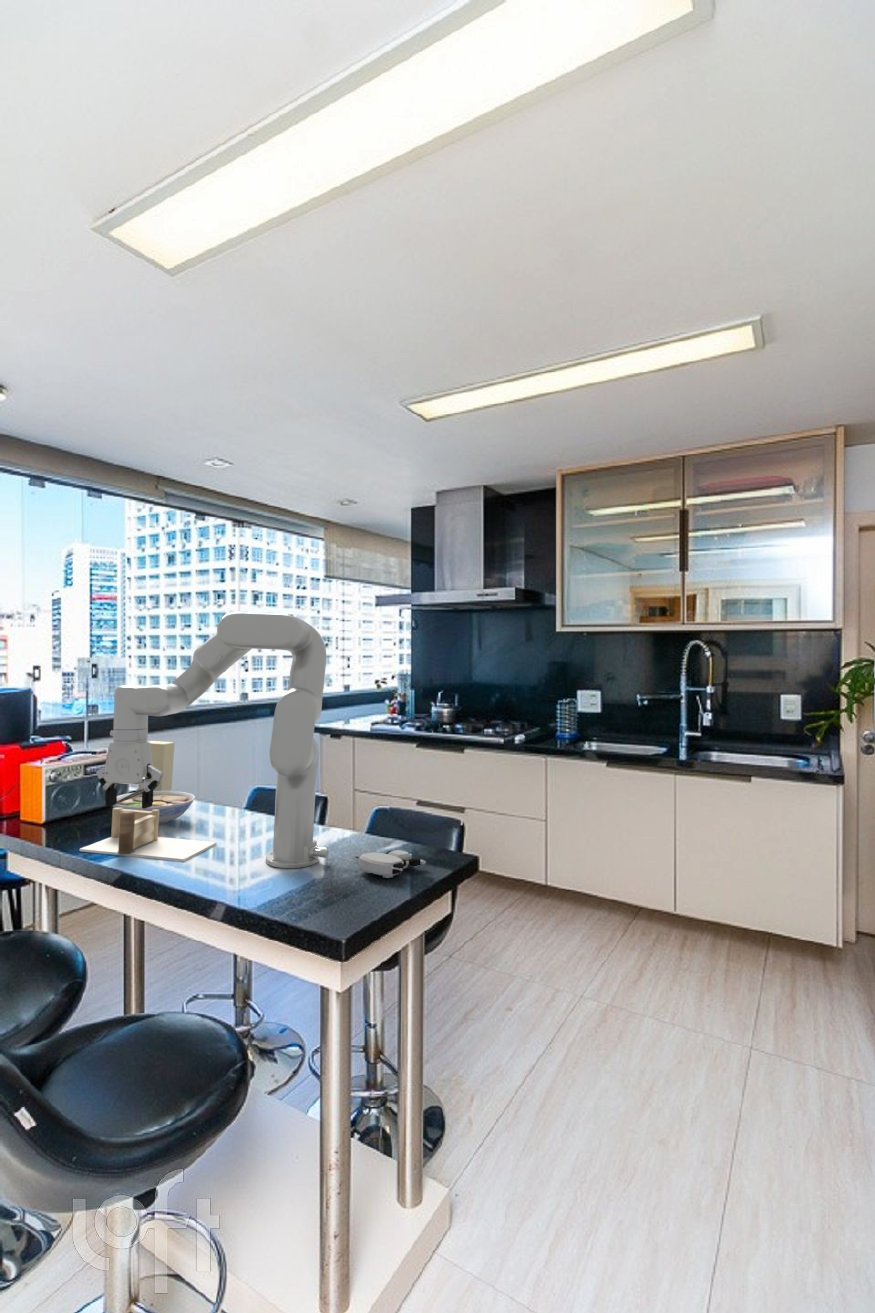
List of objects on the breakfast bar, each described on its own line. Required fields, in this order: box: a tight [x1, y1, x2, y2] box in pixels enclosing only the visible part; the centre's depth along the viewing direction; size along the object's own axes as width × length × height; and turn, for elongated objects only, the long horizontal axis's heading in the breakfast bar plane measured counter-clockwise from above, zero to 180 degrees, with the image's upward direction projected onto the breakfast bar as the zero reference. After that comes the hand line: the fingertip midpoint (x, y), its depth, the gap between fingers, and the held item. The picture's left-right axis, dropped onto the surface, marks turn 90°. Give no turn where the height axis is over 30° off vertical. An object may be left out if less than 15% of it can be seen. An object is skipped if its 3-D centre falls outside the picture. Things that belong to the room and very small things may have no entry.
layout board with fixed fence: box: [79, 807, 218, 862], centre depth 155 cm, size 28×16×8 cm, turn 81°
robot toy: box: [351, 849, 427, 876], centre depth 145 cm, size 12×4×15 cm
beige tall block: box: [137, 740, 175, 791], centre depth 200 cm, size 8×7×21 cm
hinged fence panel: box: [118, 811, 156, 854], centre depth 153 cm, size 12×3×10 cm, turn 173°
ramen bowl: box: [111, 788, 196, 826], centre depth 179 cm, size 25×23×8 cm
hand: (129, 806), depth 149 cm, fingers open, 9 cm apart
